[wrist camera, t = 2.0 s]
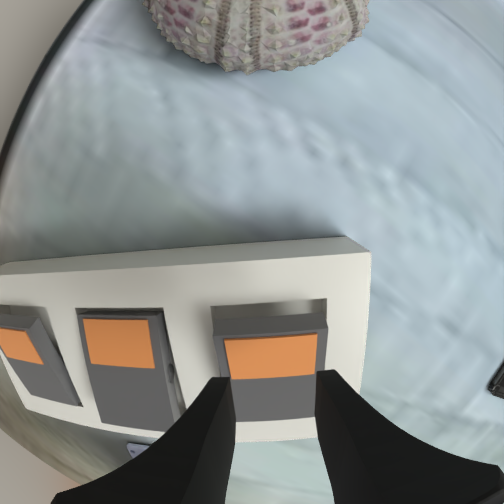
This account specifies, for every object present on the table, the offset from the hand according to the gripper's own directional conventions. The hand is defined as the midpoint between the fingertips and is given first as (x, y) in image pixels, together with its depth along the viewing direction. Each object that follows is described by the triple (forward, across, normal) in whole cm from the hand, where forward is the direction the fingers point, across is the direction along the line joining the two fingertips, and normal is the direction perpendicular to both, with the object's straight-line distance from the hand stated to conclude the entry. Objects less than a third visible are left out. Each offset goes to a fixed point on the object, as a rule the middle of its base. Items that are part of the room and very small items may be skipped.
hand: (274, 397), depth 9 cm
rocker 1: (+5, +16, +2) cm, 17 cm away
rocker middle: (+5, +8, +2) cm, 10 cm away
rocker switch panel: (+9, +8, +2) cm, 13 cm away
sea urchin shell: (+10, -1, -20) cm, 22 cm away
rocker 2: (+5, 0, +2) cm, 6 cm away
